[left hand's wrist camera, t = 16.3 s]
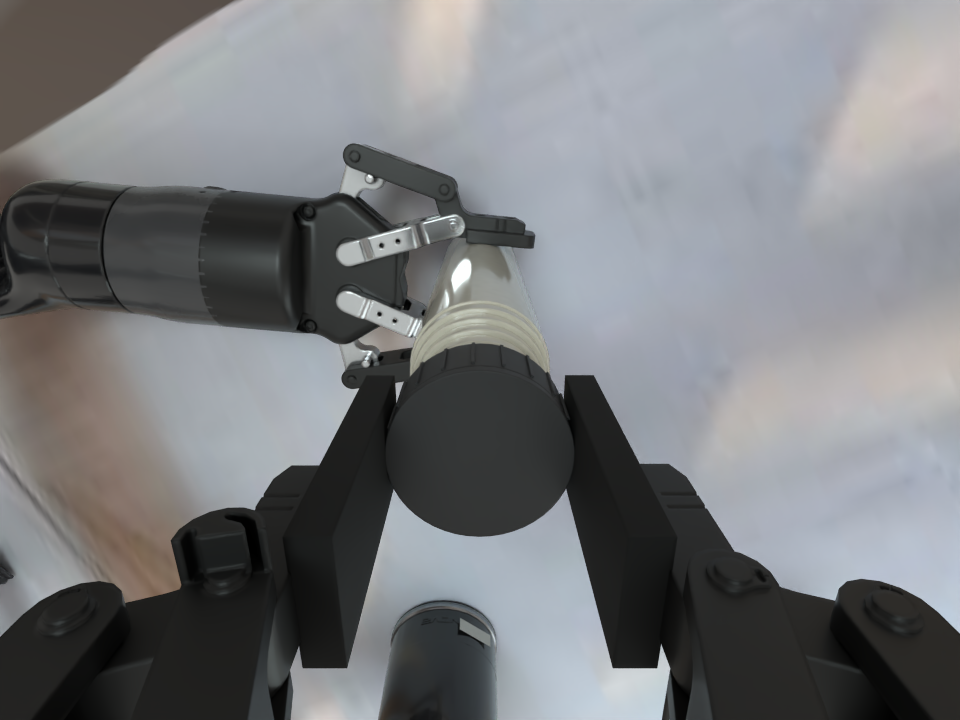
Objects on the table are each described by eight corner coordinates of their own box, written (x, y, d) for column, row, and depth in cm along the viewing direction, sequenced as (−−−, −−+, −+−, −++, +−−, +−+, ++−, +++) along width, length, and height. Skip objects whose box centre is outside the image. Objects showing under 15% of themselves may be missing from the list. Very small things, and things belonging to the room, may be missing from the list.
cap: (521, 515, 16) (527, 561, 14) (371, 460, 15) (356, 502, 13) (594, 380, 14) (611, 412, 12) (431, 314, 14) (423, 338, 12)
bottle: (435, 281, 38) (358, 493, 14) (460, 215, 36) (422, 328, 12) (498, 306, 38) (528, 550, 14) (525, 242, 37) (609, 400, 13)
